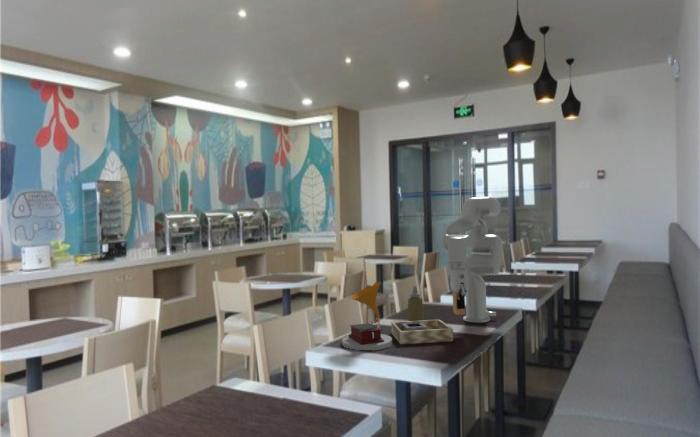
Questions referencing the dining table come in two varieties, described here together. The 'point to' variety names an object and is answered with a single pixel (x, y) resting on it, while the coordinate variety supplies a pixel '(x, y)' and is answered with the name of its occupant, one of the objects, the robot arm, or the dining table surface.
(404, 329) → the socket
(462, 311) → the orange canister
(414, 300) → the squeeze bottle
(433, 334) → the box
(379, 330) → the gramophone
